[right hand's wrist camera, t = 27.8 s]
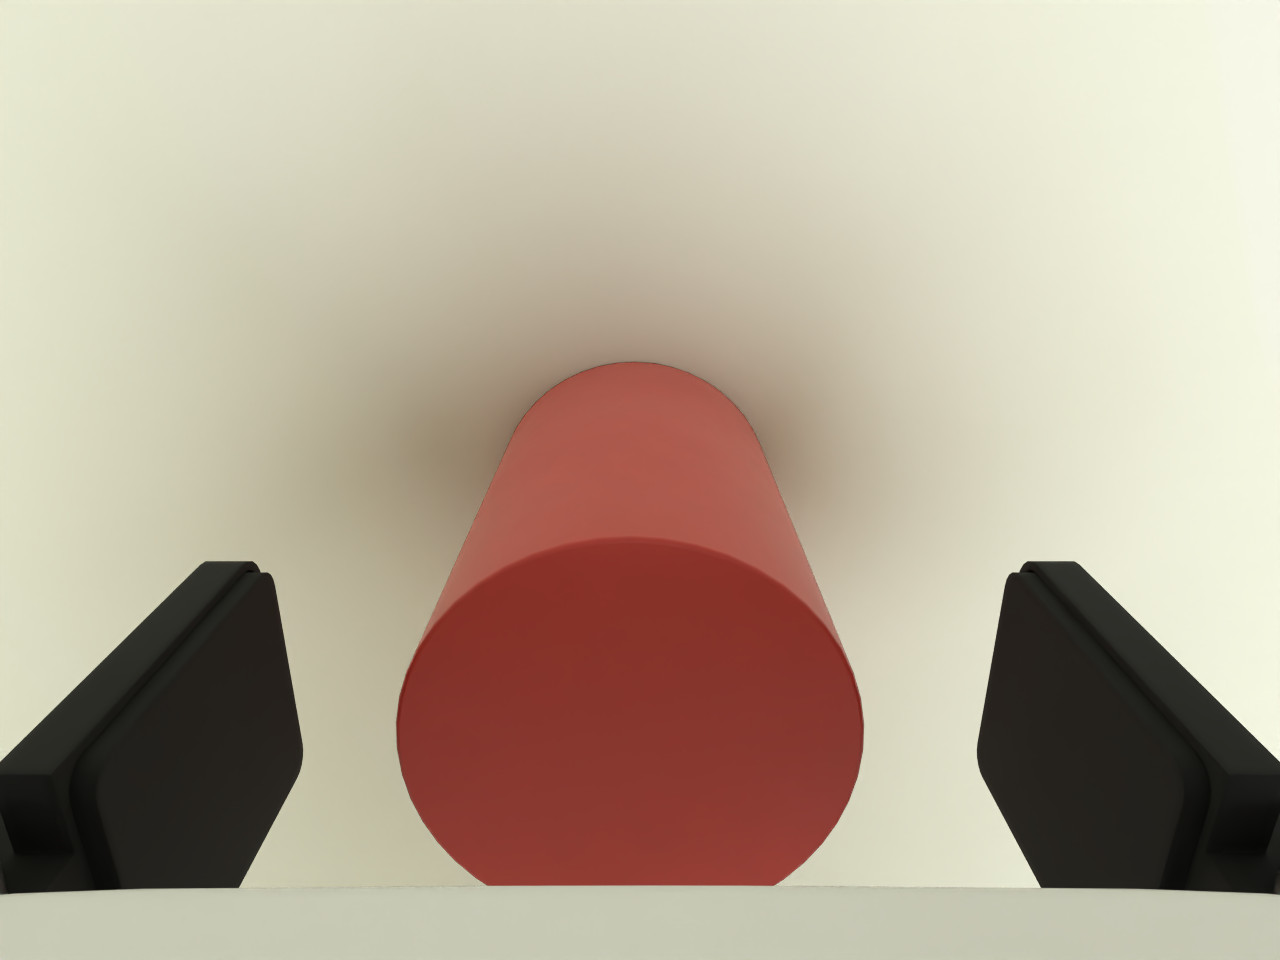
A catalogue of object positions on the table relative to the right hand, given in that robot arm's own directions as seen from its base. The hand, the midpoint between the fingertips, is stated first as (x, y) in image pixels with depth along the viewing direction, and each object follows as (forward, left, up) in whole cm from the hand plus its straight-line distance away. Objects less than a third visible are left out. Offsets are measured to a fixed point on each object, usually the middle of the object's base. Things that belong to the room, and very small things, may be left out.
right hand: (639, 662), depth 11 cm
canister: (0, 0, -7) cm, 7 cm away
